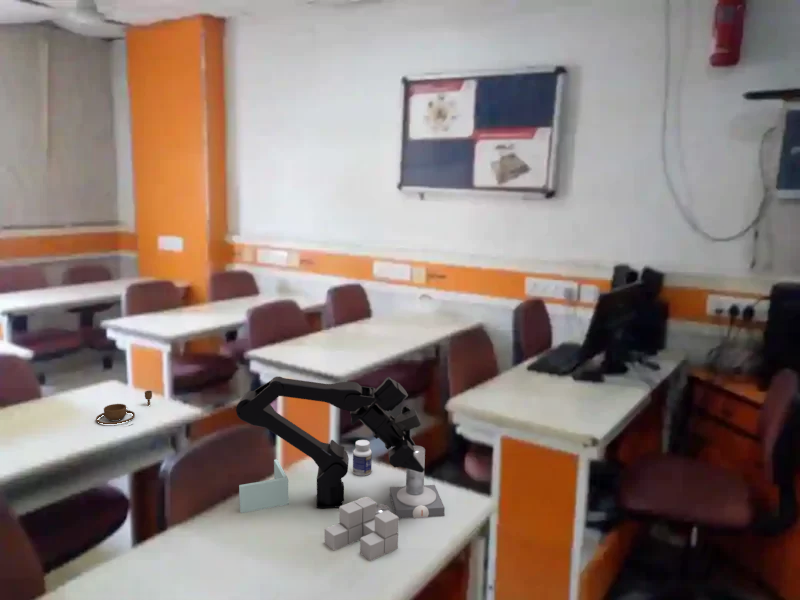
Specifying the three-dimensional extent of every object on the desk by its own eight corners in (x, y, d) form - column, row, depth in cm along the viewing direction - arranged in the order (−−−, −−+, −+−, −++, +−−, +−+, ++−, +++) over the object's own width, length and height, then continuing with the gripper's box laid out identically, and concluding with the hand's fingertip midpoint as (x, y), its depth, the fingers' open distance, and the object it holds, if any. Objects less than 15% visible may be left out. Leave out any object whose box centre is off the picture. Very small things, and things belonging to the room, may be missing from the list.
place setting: (91, 416, 221) (90, 399, 220) (151, 405, 233) (150, 389, 232) (102, 433, 208) (101, 415, 206) (165, 420, 219) (165, 404, 218)
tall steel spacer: (407, 495, 164) (408, 453, 162) (404, 487, 169) (405, 445, 167) (425, 494, 165) (426, 452, 163) (421, 486, 169) (423, 445, 167)
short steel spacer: (372, 525, 156) (372, 513, 155) (370, 515, 160) (370, 504, 159) (390, 524, 156) (390, 512, 156) (388, 514, 161) (388, 503, 160)
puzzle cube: (324, 543, 148) (324, 511, 146) (366, 526, 155) (366, 495, 154) (355, 568, 139) (355, 534, 137) (398, 548, 146) (398, 516, 145)
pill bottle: (368, 477, 180) (369, 447, 178) (350, 475, 181) (350, 445, 179) (373, 469, 185) (373, 439, 183) (355, 467, 186) (355, 438, 184)
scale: (396, 522, 159) (396, 507, 158) (389, 498, 171) (390, 483, 170) (444, 519, 160) (445, 505, 160) (434, 495, 172) (434, 481, 172)
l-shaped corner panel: (277, 485, 175) (277, 459, 174) (288, 506, 165) (288, 478, 163) (232, 493, 171) (231, 466, 169) (240, 515, 160) (239, 487, 158)
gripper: (404, 414, 153) (449, 457, 156) (399, 388, 171) (439, 427, 174) (370, 445, 154) (415, 488, 157) (369, 416, 172) (409, 455, 175)
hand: (421, 463), depth 165 cm, fingers open, 9 cm apart
